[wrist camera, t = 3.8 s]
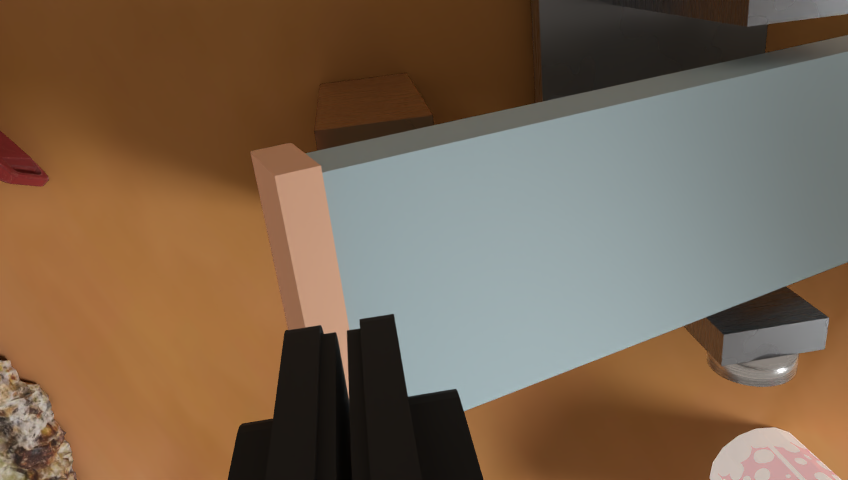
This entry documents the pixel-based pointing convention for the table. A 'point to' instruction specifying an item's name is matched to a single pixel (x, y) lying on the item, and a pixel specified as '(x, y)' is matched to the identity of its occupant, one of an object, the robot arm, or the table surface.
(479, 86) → the table surface
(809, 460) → the beverage cup
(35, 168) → the utility knife
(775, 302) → the beam stand
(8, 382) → the mineral rock
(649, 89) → the balance beam
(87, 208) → the table surface
